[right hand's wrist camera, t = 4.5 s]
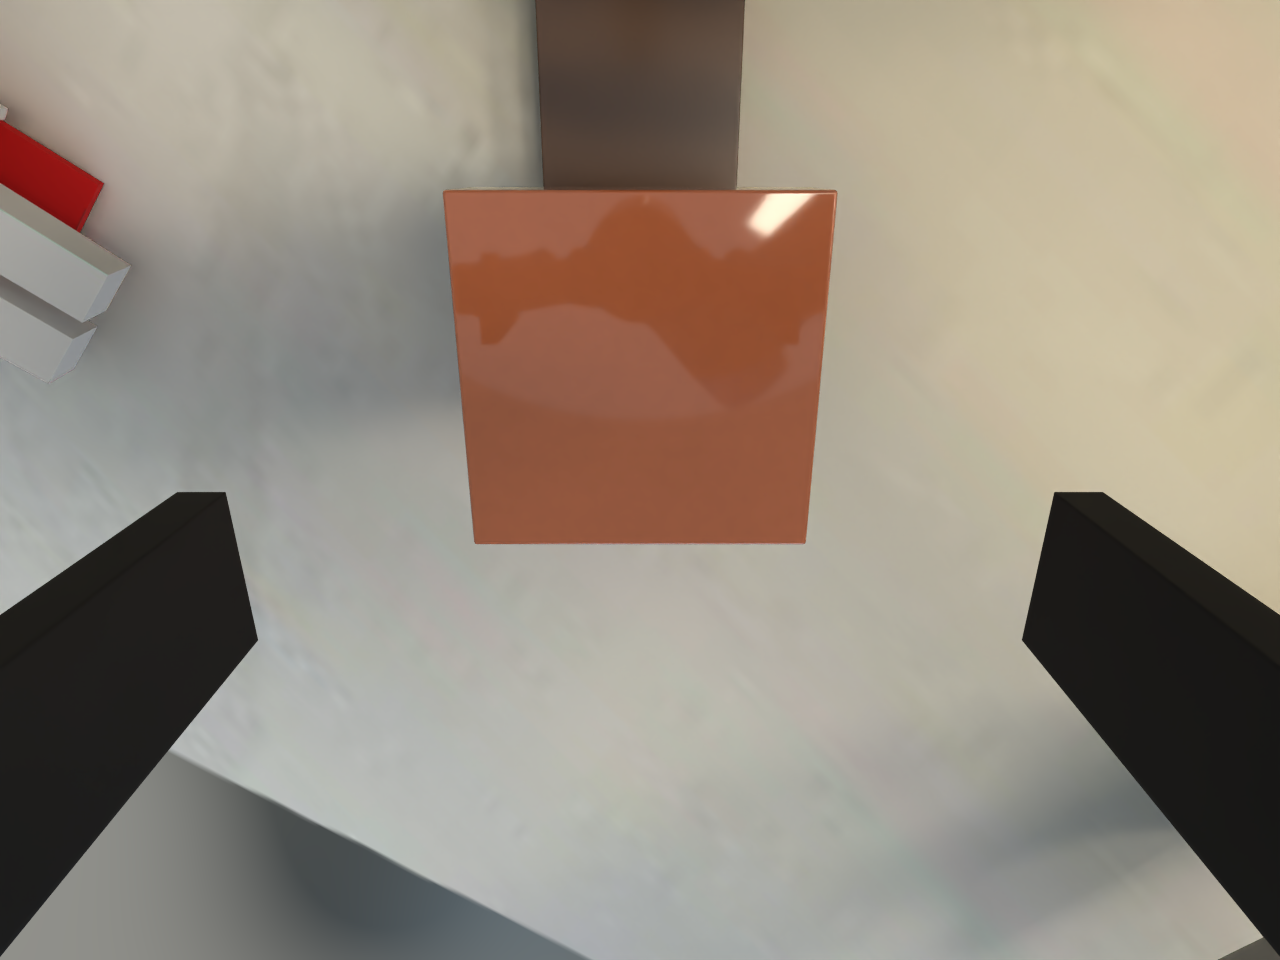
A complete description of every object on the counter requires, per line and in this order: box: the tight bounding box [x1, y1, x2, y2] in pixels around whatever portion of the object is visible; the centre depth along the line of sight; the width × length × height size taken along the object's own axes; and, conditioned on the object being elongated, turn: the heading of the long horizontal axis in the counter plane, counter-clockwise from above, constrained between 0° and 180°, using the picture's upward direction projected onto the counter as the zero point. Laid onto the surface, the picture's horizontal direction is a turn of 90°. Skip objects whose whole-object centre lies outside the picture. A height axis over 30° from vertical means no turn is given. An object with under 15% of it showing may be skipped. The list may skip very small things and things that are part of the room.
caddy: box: [535, 0, 745, 187], centre depth 29 cm, size 30×9×14 cm, turn 0°
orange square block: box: [443, 187, 837, 544], centre depth 26 cm, size 11×11×5 cm
